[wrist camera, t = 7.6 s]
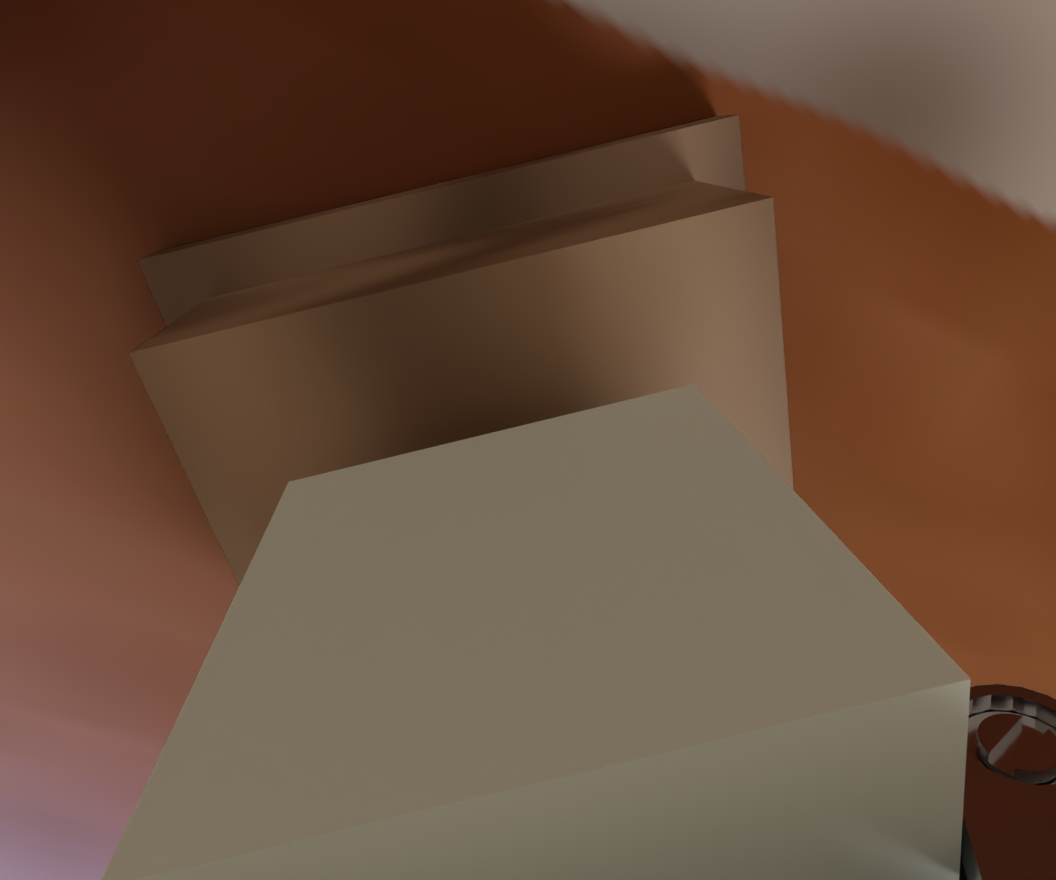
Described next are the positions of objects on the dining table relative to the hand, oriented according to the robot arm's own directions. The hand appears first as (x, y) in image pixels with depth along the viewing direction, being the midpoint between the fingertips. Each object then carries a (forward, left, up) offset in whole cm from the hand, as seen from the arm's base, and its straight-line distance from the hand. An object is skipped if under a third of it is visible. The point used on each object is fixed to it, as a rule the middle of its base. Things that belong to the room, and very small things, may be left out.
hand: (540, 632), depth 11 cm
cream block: (0, 0, -1) cm, 1 cm away
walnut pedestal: (0, 0, -7) cm, 7 cm away
